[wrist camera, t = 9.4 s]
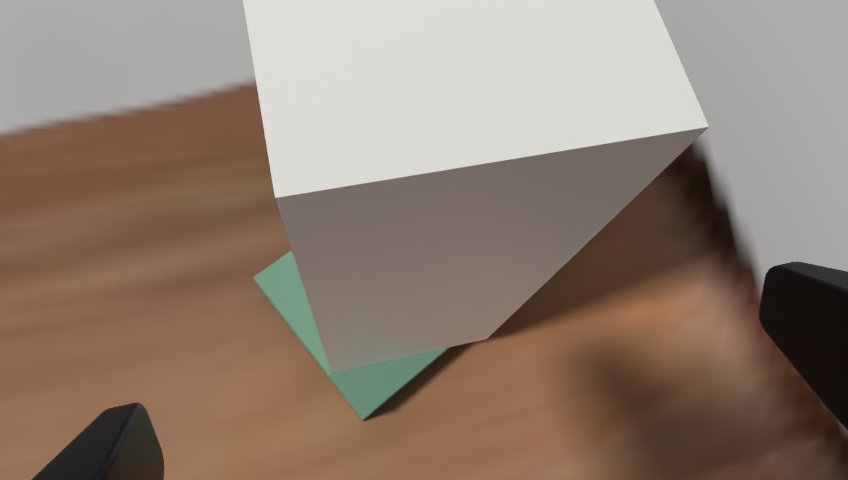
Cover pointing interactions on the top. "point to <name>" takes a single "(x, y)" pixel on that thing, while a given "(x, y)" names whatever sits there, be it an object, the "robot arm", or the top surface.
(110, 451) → the robot arm
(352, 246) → the white tall block
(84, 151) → the top surface
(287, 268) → the header board
